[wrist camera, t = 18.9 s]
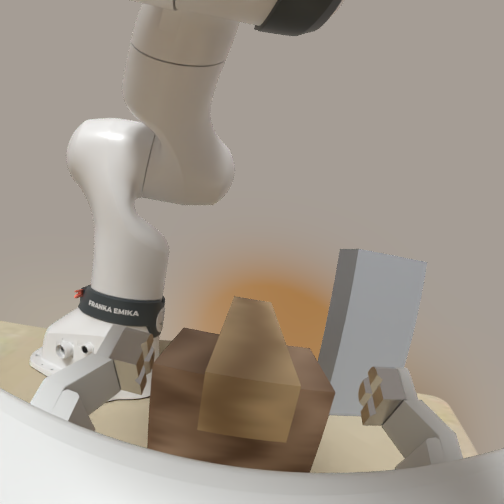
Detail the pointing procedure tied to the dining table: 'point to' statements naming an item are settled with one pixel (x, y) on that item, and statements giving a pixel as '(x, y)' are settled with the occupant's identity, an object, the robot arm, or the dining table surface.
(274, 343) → the oak bar
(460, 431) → the dining table surface
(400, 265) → the tall stand
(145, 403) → the dining table surface
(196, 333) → the walnut block
